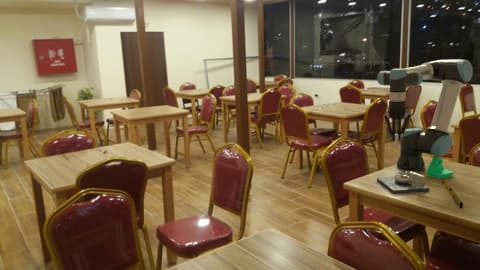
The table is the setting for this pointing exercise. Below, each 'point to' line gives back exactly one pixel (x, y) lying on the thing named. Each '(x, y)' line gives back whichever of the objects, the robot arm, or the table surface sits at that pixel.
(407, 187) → the stand
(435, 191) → the table surface
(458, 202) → the spirit level
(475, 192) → the table surface
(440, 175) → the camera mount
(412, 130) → the robot arm
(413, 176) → the silver ladle
